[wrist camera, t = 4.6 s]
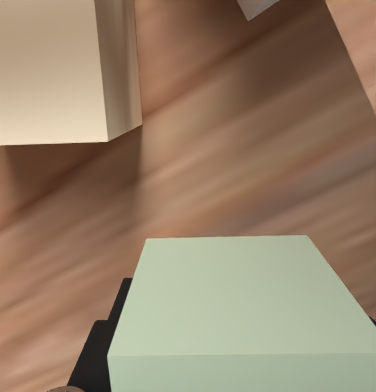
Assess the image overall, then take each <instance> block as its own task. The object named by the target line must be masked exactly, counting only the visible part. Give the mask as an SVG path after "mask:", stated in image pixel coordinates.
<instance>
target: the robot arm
mask: <svg viewBox="0 0 376 392" xmlns="http://www.w3.org/2000/svg"><path fill="white" fill-rule="evenodd" d="M132 280H133V278H124V279H123V281H122V284H121V287H120V289H119V292H118V294H117V297H116V300H115V302H114V305H113V307H112V310H111V312H110V315H109V318H108V320H97V321H95V323H94V325H93V327H92V329H91V331H90V334H89V336H88V338H87V340H86V343H85V345H84V347H83V350H82V352H81V354H80V356H79V359H78V361H77V363H76V366H75V368H74V370H73V372H72V375H71V377H70V379H69V382H68V384H67V386H63V387H58V388H55V389H52V390H49V391H47V392H112V391H111V383H110V375H109V367H108V360H107V355H108V352H109V349H110V346H111V343H112V340H113V337H114V334H115V331H116V328H117V325H118V322H119V319H120V316H121V313H122V310H123V307H124V304H125V301H126V298H127V295H128V292H129V289H130V286H131V283H132ZM368 317H369V316H368ZM369 318H370V320H371V321H372V322H373V324H374V325H375V326H376V322H375V321H374V320H373V319H372V318H371V317H369Z"/></svg>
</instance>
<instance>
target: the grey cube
mask: <svg viewBox="0 0 376 392" xmlns="http://www.w3.org/2000/svg"><path fill="white" fill-rule="evenodd" d="M278 1H279V0H237V2H238V3H239V5H240V7H241V9H242V11H243V13H244V15H245V16H246V18H247V20H248V21H250V20H251V19H252V18H254V17H255V16H257V15H258V14H260V13H261V12H263V11H264V10H266V9H267V8H269V7H270V6H272V5H273V4H275V3H276V2H278Z"/></svg>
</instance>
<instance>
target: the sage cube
mask: <svg viewBox="0 0 376 392" xmlns="http://www.w3.org/2000/svg"><path fill="white" fill-rule="evenodd" d="M107 360H108V367H109V375H110V383H111V391H112V392H376V326H375V325H374V324H373V322H372V321H371V320H370V318H369V317H368V316H367V314H366V313H365V312H364V310H363V309H362V308H361V306H360V305H359V304H358V302H357V301H356V300H355V298H354V297H353V296H352V294H351V293H350V292H349V290H348V289H347V288H346V286H345V285H344V284H343V282H342V281H341V280H340V278H339V277H338V276H337V274H336V273H335V272H334V270H333V269H332V268H331V266H330V265H329V264H328V262H327V261H326V260H325V258H324V257H323V256H322V254H321V253H320V252H319V250H318V249H317V248H316V246H315V245H314V244H313V242H312V241H311V240H310V238H309V237H308V236H307V235H281V236H238V237H194V238H151V239H146V241H145V244H144V247H143V250H142V253H141V256H140V259H139V262H138V265H137V268H136V271H135V274H134V277H133V280H132V283H131V286H130V289H129V292H128V295H127V298H126V301H125V304H124V307H123V310H122V313H121V316H120V319H119V322H118V325H117V328H116V331H115V334H114V337H113V340H112V343H111V346H110V349H109V352H108V355H107Z"/></svg>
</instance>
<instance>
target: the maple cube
mask: <svg viewBox="0 0 376 392" xmlns="http://www.w3.org/2000/svg"><path fill="white" fill-rule="evenodd" d="M140 125H142V110H141V96H140V81H139V67H138V53H137V39H136V25H135V10H134V0H0V145H25V144H55V143H84V142H109V141H110V140H112V139H114V138H116V137H118V136H120V135H122V134H124V133H126V132H128V131H130V130H132V129H134V128H136V127H138V126H140Z"/></svg>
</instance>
